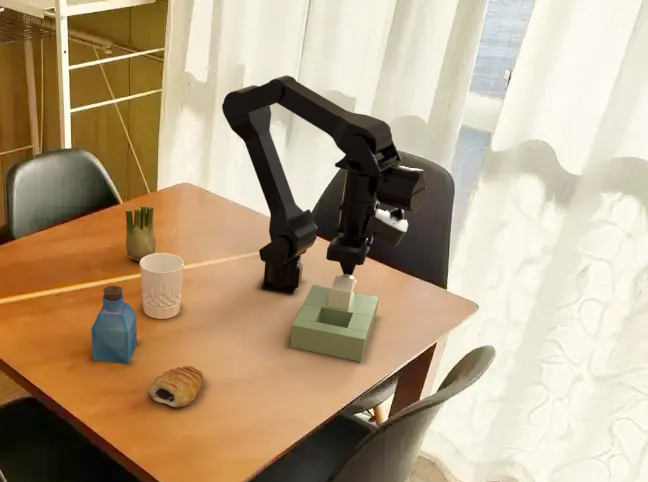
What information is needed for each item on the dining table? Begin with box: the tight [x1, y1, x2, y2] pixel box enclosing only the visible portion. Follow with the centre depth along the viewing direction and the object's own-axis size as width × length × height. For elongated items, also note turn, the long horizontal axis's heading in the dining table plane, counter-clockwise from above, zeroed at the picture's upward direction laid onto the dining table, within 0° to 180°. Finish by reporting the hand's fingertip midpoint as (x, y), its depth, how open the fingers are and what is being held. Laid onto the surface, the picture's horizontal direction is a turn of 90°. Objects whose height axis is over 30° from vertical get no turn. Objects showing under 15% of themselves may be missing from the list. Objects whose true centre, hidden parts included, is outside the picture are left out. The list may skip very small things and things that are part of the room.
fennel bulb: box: [125, 204, 157, 263], centre depth 154 cm, size 6×5×12 cm
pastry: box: [148, 365, 204, 408], centre depth 117 cm, size 9×7×4 cm
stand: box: [289, 284, 380, 363], centre depth 131 cm, size 12×15×4 cm
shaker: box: [328, 274, 357, 310], centre depth 132 cm, size 7×4×4 cm, turn 157°
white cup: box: [139, 252, 185, 320], centre depth 137 cm, size 8×8×10 cm
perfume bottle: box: [90, 285, 138, 365], centre depth 124 cm, size 6×6×12 cm
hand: (348, 277), depth 136 cm, fingers closed
